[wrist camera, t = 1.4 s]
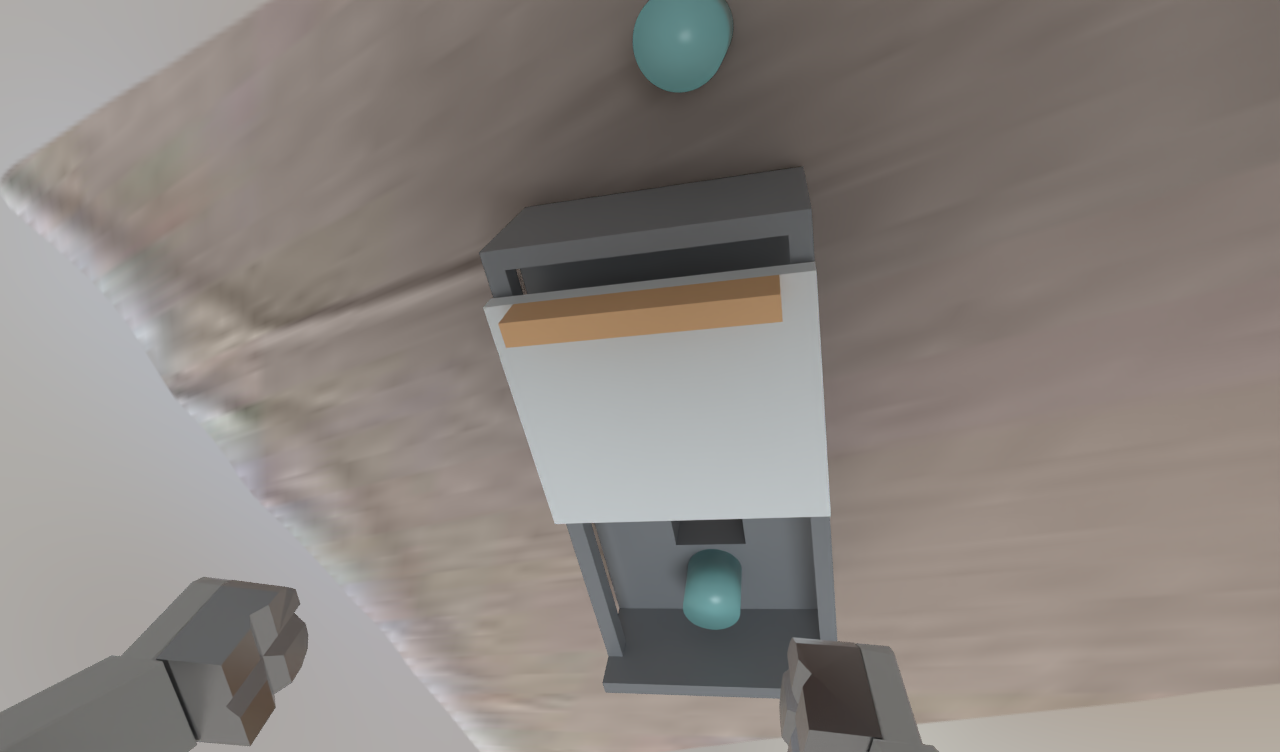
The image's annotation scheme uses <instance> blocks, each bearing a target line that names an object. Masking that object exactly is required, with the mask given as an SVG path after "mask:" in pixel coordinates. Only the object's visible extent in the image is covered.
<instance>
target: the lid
mask: <svg viewBox="0 0 1280 752" xmlns="http://www.w3.org/2000/svg"><path fill="white" fill-rule="evenodd" d="M483 309H484V312H485V315H486V318H487V321H488V324H489V327H490V330H491V333H492V336H493V339H494V342H495V345H496V348H497V351H498V354H499V357H500V360H501V363H502V366H503V369H504V372H505V375H506V378H507V381H508V384H509V387H510V390H511V393H512V396H513V399H514V402H515V405H516V408H517V411H518V414H519V417H520V420H521V423H522V426H523V429H524V432H525V435H526V438H527V441H528V444H529V447H530V450H531V453H532V456H533V459H534V462H535V465H536V468H537V471H538V474H539V477H540V480H541V483H542V486H543V489H544V492H545V495H546V498H547V501H548V504H549V507H550V510H551V513H552V516H553V519H554V522H555V524H570V523H607V522H644V521H680V520H717V519H754V518H791V517H827V516H831V511H830V494H829V477H828V459H827V442H826V425H825V408H824V391H823V374H822V356H821V339H820V322H819V305H818V288H817V271H816V265H815V262H807V263H798V264H789V265H780V266H772V267H763V268H754V269H745V270H736V271H728V272H719V273H710V274H701V275H693V276H684V277H675V278H666V279H658V280H649V281H640V282H631V283H623V284H614V285H605V286H596V287H587V288H579V289H570V290H561V291H552V292H544V293H535V294H526V295H517V296H509V297H500V298H491V299H490V300H489V301H488V302H487V303H486V305H485V306H484V307H483Z"/></svg>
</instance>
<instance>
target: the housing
mask: <svg viewBox="0 0 1280 752" xmlns="http://www.w3.org/2000/svg"><path fill="white" fill-rule="evenodd" d="M479 254H480V258H481V261H482V264H483V267H484V270H485V273H486V276H487V279H488V282H489V286H490V289H491V292H492V295H493V298H500V297H509V296H517V295H523V292H522V289H521V286H520V282H519V279H518V275H517V272H516V269H520V270H521V273H522V277H523V280H524V284H525V287H526V290H527V294H535V293H544V292H552V291H561V290H570V289H579V288H587V287H596V286H605V285H614V284H623V283H631V282H640V281H649V280H658V279H666V278H675V277H684V276H693V275H701V274H710V273H719V272H728V271H736V270H745V269H754V268H763V267H772V266H780V265H789V264H798V263H807V262H815V259H814V242H813V225H812V209H811V203H810V198H809V193H808V188H807V183H806V178H805V173H804V167H797V168H790V169H783V170H776V171H769V172H763V173H756V174H749V175H742V176H735V177H729V178H722V179H715V180H708V181H701V182H695V183H688V184H681V185H674V186H667V187H661V188H654V189H647V190H640V191H633V192H627V193H620V194H613V195H606V196H599V197H593V198H586V199H579V200H572V201H565V202H559V203H552V204H545V205H538V206H531V207H525V208H524V209H523V210H522V211H521V212H520V213H519V214H518V215H517V216H516V217H515V218H514V219H513V220H512V221H511V222H510V223H509V224H508V225H507V226H506V227H505V228H504V229H503V230H502V231H501V232H500V233H499V234H498V235H497V236H495V237H494V238H493V239H492V240H491V241H490V242H489V243H488V244H487V245H486V246H485V247H484V248H483V249H482V250H481V251H480V252H479ZM566 525H567V528H568V531H569V534H570V537H571V541H572V544H573V547H574V550H575V553H576V556H577V559H578V562H579V565H580V569H581V572H582V575H583V578H584V581H585V584H586V587H587V590H588V593H589V597H590V600H591V603H592V606H593V609H594V612H595V615H596V618H597V621H598V625H599V628H600V631H601V634H602V637H603V640H604V643H605V646H606V649H607V653H608V656H609V657H608V661H607V666H606V670H605V675H604V679H603V686H604V689H605V692H608V693H636V694H665V695H693V696H722V697H750V698H779V699H780V690H781V683H782V677H783V673H785V672H786V671H787V670H789V665H788V657H787V652H788V648H789V643H790V641H791V639H792V637H795V638H806V639H817V640H829V641H837V630H836V613H835V596H834V579H833V562H832V545H831V528H830V516H827V517H791V518H754V519H717V520H680V521H644V522H607V523H595V526H596V529H597V533H598V536H599V540H600V543H601V546H602V550H603V553H604V557H605V560H606V564H607V567H608V570H609V574H610V577H611V581H612V584H613V587H614V591H615V594H616V598H617V601H618V604H619V608H620V609H619V613H617V609H616V606H615V602H614V599H613V596H612V592H611V589H610V586H609V582H608V579H607V575H606V572H605V569H604V565H603V562H602V559H601V555H600V552H599V549H598V545H597V542H596V538H595V535H594V532H593V528H592V525H591V523H570V524H566Z"/></svg>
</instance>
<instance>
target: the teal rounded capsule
mask: <svg viewBox="0 0 1280 752" xmlns="http://www.w3.org/2000/svg"><path fill="white" fill-rule="evenodd" d="M732 36H733V18H732V14H731V10H730V8H729V6H728V4H727V2H726V1H725V0H649V1H648V2H647V4H646V5H645V6H644V7H643V9H642V10H641V12H640V14H639V16H638V18H637V20H636V23H635V27H634V32H633V50H634V55H635V58H636V61H637V64H638V66H639V68H640V70H641V71H642V73H643V74H644V75H645V77H646V78H647V79H648V80H649V81H650V82H651V83H653V84H654V85H656V86H657V87H659V88H661V89H663V90H666V91H670V92H680V93H681V92H688V91H692V90H694V89H697V88H699V87H700V86H702V85H704V84H705V83H706V82H708V81H709V80H710V79H711V78H712V77H713V75H714V74H715V73H716V72H717V70H718V68H719V67H720V65H721V63H722V61H723V58H724V56H725V54H726V52H727V50H728V48H729V46H730V43H731V40H732Z"/></svg>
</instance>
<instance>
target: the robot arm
mask: <svg viewBox="0 0 1280 752" xmlns="http://www.w3.org/2000/svg"><path fill="white" fill-rule="evenodd" d="M299 605H300V602H299V599H298V596H297V592H296V590H295V589H293V588H289V587H282V586H274V585H267V584H259V583H251V582H244V581H236V580H225V579H216V578H207V577H202V578H200V579H198V580H196V581H194V582H192V583H191V584H190V585H189V586H188V587H187V588H186V589H185V590H184V591H183V592H182V593H181V594H180V595H179V596H178V597H177V599H175V600H174V601H173V603H172V604H171V605H170V606H169V607H168V608H167V609H166V610H165V611H164V612H163V613H162V614H161V615H160V616H159V617H158V618H157V619H156V620H155V621H154V622H153V623H152V624H151V625H150V626H149V628H148V629H147V630H146V631H145V632H144V633H143V634H142V635H141V636H140V637H139V638H138V639H137V640H136V641H135V642H134V643H133V644H132V645H131V646H130V647H129V648H128V649H127V650H126V651H125V652H124V653H123V655H122V656H110V657H108V658H106V659H104V660H102V661H100V662H98V663H96V664H94V665H92V666H90V667H88V668H86V669H84V670H82V671H80V672H78V673H77V674H75V675H73V676H71V677H69V678H67V679H65V680H63V681H61V682H59V683H57V684H55V685H53V686H51V687H49V688H47V689H45V690H43V691H41V692H39V693H37V694H35V695H33V696H32V697H30V698H28V699H26V700H24V701H22V702H20V703H18V704H16V705H14V706H12V707H10V708H8V709H6V710H4V711H2V712H0V752H189V751H190V750H191V749H192V748H194V747H195V746H196V745H197V743H196V742H207V743H219V744H230V745H242V746H251V744H252V743H253V741H254V740H255V738H256V737H257V735H258V734H259V732H260V730H261V729H262V727H263V726H264V725H265V723H266V722H267V720H268V718H269V717H270V715H271V714H272V712H273V711H274V709H275V696H274V694H275V693H277V692H278V691H280V690H281V689H283V688H285V687H286V686H287V685H289V684H291V683H292V681H293V680H294V678H295V677H296V675H297V673H298V672H299V670H300V668H301V667H302V664H303V661H304V658H305V655H306V652H307V649H308V632H307V628H306V624H305V623H304V622H303V621H302V620H301V619H300V618H299V617H298V616H297V615H296V614H295V613H294V612H295V610H296V609H297V608H298V606H299ZM787 657H788V665H789V670H787V671H786V672H785V673H783V677H782V683H781V690H780V725H781V735H782V738H783V739H784V741H785V742H786V743H787V744H788V746H789V747H788V752H939V751H938V750H937V749H936V748H935V747H934V746H932V745H925V744H922V741H921V737H920V734H919V731H918V728H917V724H916V721H915V718H914V715H913V712H912V708H911V705H910V702H909V699H908V696H907V692H906V689H905V686H904V683H903V680H902V676H901V673H900V670H899V667H898V664H897V661H896V657H895V654H894V652H893V651H892V649H891V648H890V647H889V646H879V645H869V644H858V643H857V644H855V643H851V642H840V641H829V640H817V639H806V638H795V637H792V639H791V641H790V643H789V648H788V652H787Z"/></svg>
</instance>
